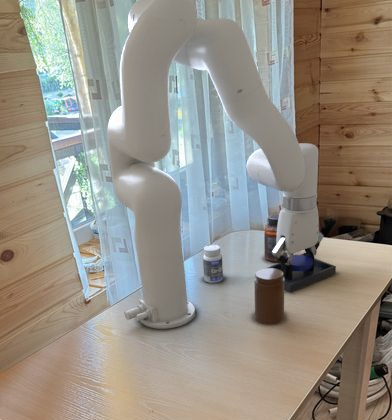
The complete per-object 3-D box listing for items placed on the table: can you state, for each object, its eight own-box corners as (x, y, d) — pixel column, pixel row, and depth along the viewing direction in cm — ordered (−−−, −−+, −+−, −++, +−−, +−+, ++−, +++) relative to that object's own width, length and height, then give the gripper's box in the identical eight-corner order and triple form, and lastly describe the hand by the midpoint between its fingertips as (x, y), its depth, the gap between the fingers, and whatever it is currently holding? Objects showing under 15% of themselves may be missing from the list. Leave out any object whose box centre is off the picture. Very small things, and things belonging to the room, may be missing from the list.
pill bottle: (213, 285, 126) (211, 252, 122) (200, 279, 129) (198, 248, 125) (227, 278, 129) (225, 246, 124) (214, 273, 132) (212, 242, 127)
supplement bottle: (288, 261, 135) (289, 219, 129) (265, 263, 135) (265, 221, 129) (285, 253, 140) (286, 212, 134) (263, 254, 140) (263, 213, 134)
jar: (268, 327, 107) (268, 282, 102) (249, 316, 111) (248, 273, 106) (290, 317, 110) (291, 273, 104) (270, 307, 114) (270, 265, 109)
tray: (290, 292, 120) (290, 284, 119) (258, 278, 128) (258, 270, 127) (335, 273, 127) (336, 266, 126) (302, 261, 135) (302, 253, 134)
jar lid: (298, 258, 130) (298, 252, 129) (318, 266, 125) (318, 260, 124) (277, 265, 126) (278, 259, 126) (297, 273, 122) (298, 267, 121)
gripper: (314, 190, 124) (311, 259, 134) (259, 207, 116) (260, 279, 126) (338, 196, 119) (333, 268, 128) (282, 214, 111) (282, 289, 120)
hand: (297, 273), depth 127 cm, fingers closed on jar lid, 6 cm apart
